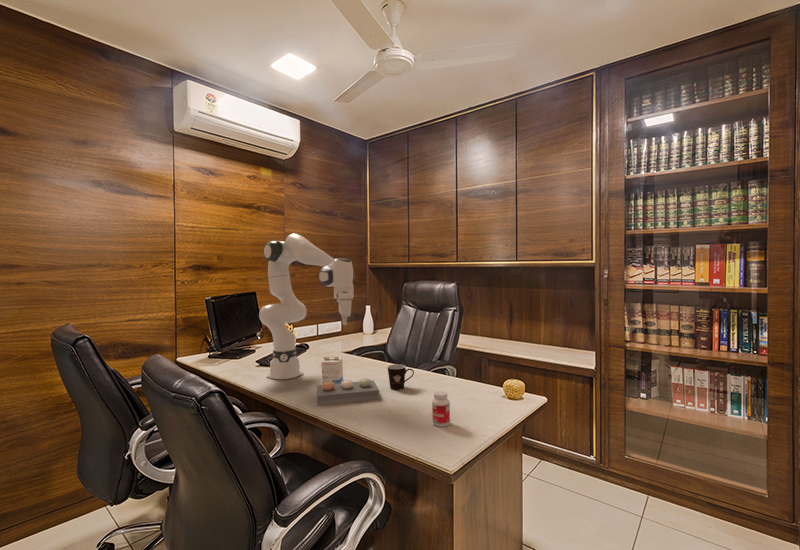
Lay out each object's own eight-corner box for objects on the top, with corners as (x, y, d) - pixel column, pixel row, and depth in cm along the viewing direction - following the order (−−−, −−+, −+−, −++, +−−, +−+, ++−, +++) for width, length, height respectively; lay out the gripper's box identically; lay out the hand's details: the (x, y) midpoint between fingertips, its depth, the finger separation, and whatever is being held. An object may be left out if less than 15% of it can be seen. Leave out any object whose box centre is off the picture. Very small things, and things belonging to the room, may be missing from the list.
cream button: (340, 390, 165) (340, 380, 165) (352, 389, 166) (351, 379, 166) (341, 394, 160) (341, 384, 160) (353, 393, 161) (353, 383, 161)
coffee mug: (384, 389, 171) (384, 368, 171) (392, 384, 179) (391, 363, 179) (408, 392, 167) (407, 370, 167) (414, 386, 175) (414, 365, 175)
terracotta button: (322, 392, 163) (322, 382, 163) (334, 391, 164) (333, 381, 164) (322, 396, 158) (322, 385, 158) (334, 394, 159) (334, 384, 159)
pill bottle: (429, 424, 132) (428, 393, 132) (438, 418, 137) (438, 389, 137) (443, 428, 128) (443, 397, 128) (453, 423, 133) (452, 392, 133)
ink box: (343, 380, 188) (342, 354, 187) (339, 385, 179) (338, 358, 179) (326, 380, 189) (326, 354, 188) (321, 385, 180) (321, 358, 180)
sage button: (358, 388, 167) (358, 379, 167) (369, 387, 168) (369, 378, 168) (360, 392, 162) (360, 382, 162) (371, 391, 163) (371, 381, 163)
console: (316, 394, 168) (316, 385, 167) (373, 388, 173) (373, 380, 173) (317, 405, 153) (316, 396, 153) (379, 399, 159) (379, 390, 159)
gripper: (335, 293, 176) (336, 322, 176) (338, 295, 156) (339, 328, 157) (348, 292, 178) (349, 321, 178) (353, 295, 158) (354, 327, 158)
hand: (344, 324), depth 167 cm, fingers closed
